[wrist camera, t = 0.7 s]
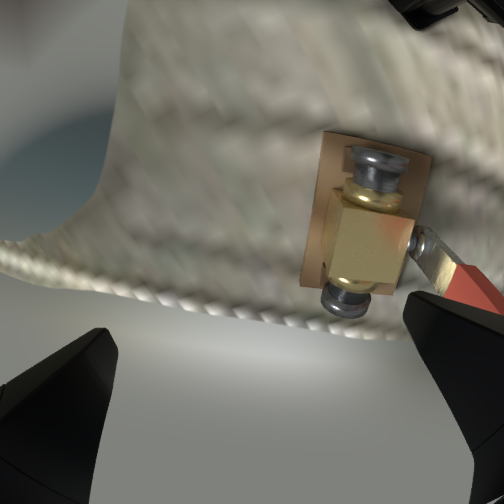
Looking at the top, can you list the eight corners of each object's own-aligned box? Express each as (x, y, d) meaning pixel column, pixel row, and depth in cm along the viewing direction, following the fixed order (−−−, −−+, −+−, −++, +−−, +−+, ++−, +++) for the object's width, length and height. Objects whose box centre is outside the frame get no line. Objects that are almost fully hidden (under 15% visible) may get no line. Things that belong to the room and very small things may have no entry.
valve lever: (411, 217, 19) (509, 325, 8) (427, 220, 19) (525, 324, 8) (401, 252, 21) (477, 373, 9) (417, 254, 21) (495, 370, 9)
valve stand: (323, 131, 19) (338, 136, 14) (426, 154, 19) (464, 169, 14) (299, 280, 25) (302, 322, 20) (389, 289, 25) (408, 329, 20)
